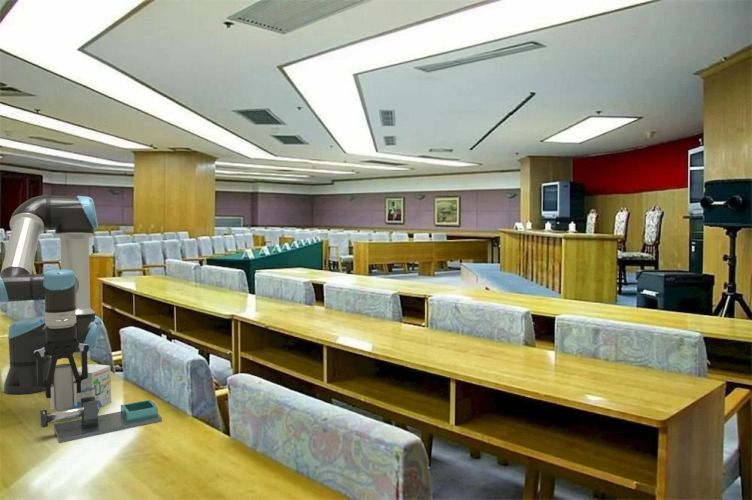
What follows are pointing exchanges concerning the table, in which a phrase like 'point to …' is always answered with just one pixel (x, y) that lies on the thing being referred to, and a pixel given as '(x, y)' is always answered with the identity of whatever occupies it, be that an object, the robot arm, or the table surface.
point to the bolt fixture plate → (106, 419)
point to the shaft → (59, 415)
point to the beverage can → (63, 386)
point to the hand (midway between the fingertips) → (63, 406)
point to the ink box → (95, 384)
